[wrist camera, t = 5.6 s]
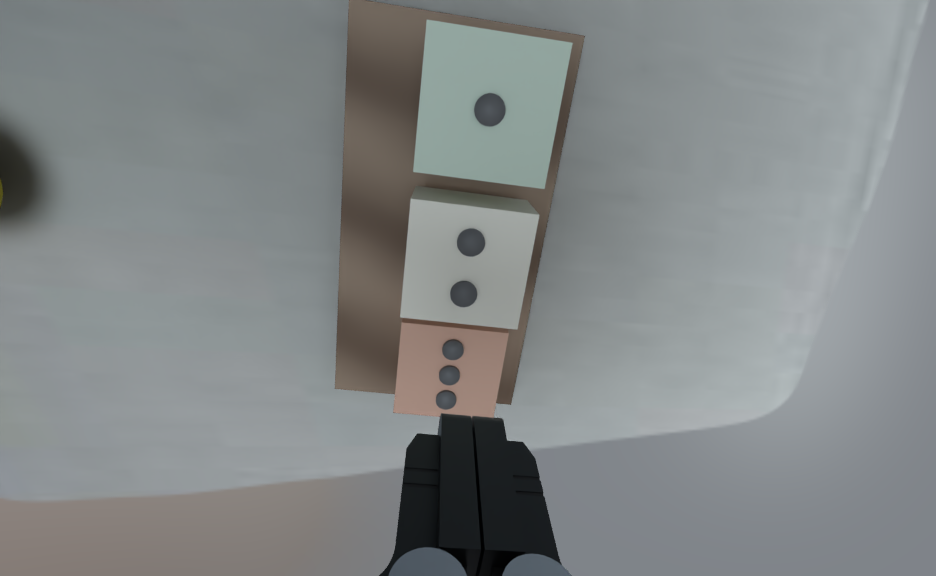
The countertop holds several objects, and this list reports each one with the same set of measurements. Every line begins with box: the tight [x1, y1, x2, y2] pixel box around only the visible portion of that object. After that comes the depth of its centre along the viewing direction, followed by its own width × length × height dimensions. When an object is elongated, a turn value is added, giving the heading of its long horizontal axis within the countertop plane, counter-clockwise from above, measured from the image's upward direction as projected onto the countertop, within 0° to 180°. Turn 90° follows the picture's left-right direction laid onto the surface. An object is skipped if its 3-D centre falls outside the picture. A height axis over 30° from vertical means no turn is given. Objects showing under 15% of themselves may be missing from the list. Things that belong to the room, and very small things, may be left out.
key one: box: [413, 20, 573, 189], centre depth 18 cm, size 5×5×3 cm
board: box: [335, 0, 585, 405], centre depth 23 cm, size 19×10×1 cm, turn 172°
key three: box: [393, 318, 509, 419], centre depth 24 cm, size 5×5×3 cm
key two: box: [400, 186, 539, 330], centre depth 20 cm, size 5×5×3 cm
